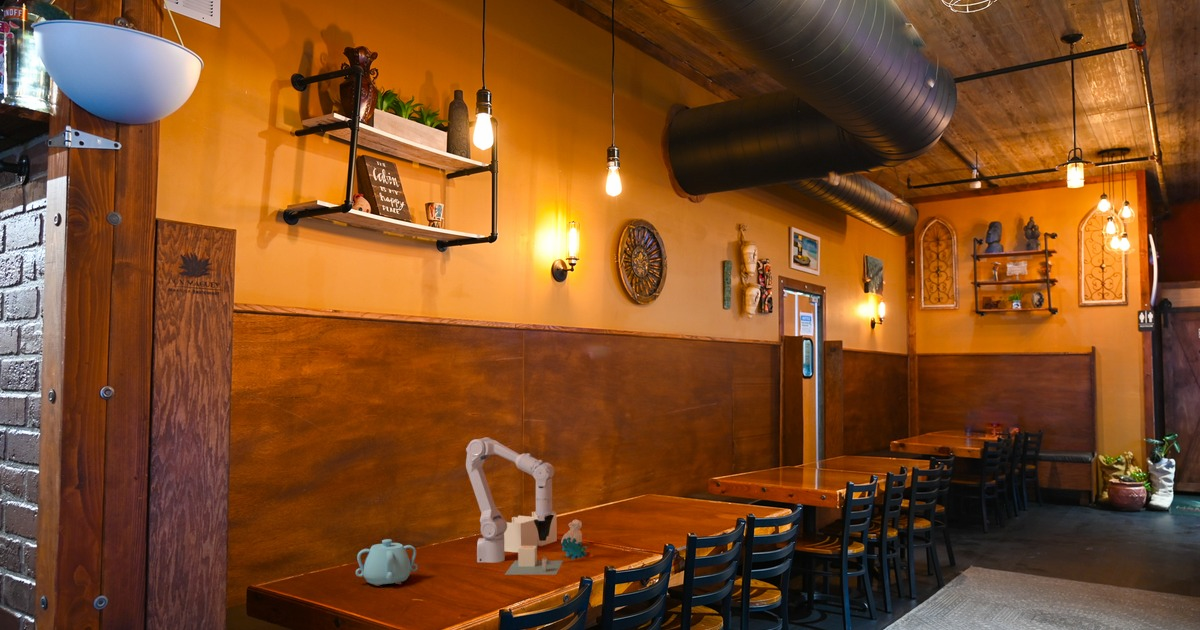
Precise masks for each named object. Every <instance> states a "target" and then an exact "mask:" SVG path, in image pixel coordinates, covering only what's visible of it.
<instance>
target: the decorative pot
mask: <svg viewBox="0 0 1200 630" xmlns="http://www.w3.org/2000/svg"><path fill="white" fill-rule="evenodd" d="M407 549H411V550H412V556H411V559H410V558H409V555H408V552H407ZM364 553H367V555H366V557H365V559H364V562H362V557H361V555H362V554H364ZM356 556H357V557H356V559H357V562H358V566H359V568H357V569H356V570H355V575H356V577H360V578H362V577H363V578H364V580H365V581H366V582H367V583H369V584H371V585H373V586H374V585H382V586H383V585H387V584H394V583H401V582H402V583H403V582H405V581H406V580H407V579H408V578H409V576H410V575H411V573H414V572H416V571H417V570H418V566H419V565H418V564H417V563H414V562H415V559H416V556H417V550H416V548H415V547H414V546H413V545H410V544H407V545H403V544H402V543H399V542H393V539H391V538H388V539H387V538H386V539H383V540H381V543H377V544H372V545H371V547H370V548H364V549H361V550H360V551H359V552H358V553H357V555H356ZM413 566H414V567H413ZM360 571H361V572H360ZM359 572H360V573H359Z"/></svg>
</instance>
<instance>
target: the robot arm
mask: <svg viewBox="0 0 1200 630" xmlns="http://www.w3.org/2000/svg"><path fill="white" fill-rule="evenodd" d="M465 452H466V459H465V469H466V472H467V475H468V477H469V480H470V483H471V486H472V489H473V492H474V495H475V498H476V501H477V504H478V507H479V511H480V512H481V515H480V519H479V522H480V533H481V536H482V537H479V538H478V540H477V543H476V544H477V545H476V562H477V563H490V564H491V563H493V564H494V563H501V562H504V561H505V560H506V559H505V554H506V553H505V552H506V551H505V549H504V532H505V531H506V529H507V522H508V521H506V519H505V518H504V517H503V515H502V513H501V511H499V509H497V507H496V504H495V501H494V498H493V496H492V493H491V489H490V486H489V483H488V481H487V478H486V474H485V471H484V467H483V464H484V463H485V462H486V459H487V458H489V456H491V455H497V456H500V457H502V458H504V459H506V460H507V461H510V462H511V463H512V462H513V463H515V466H516V468H517V469H519V470H520V471H522V472H524V473H527V474H529V475H530V476H532V477H533V478H534V480H535V511H534V512H535V514H536V515H537V517H538V519H535V520H534V523H535V525H536V527H537V531H538V536H539V540H540V541H546V538H547V536H549V531H550V525H551V521H552V519H553V517H554V515H551V514H555V513H556V514H557V512H556V510H553V476H554V474H555V468H554V466H553V465H552V464H551V463H549V462H543V460H542V459H537V458H536V457H533V456H532V454H531V453H529V452H528V453H524V452H523V453H522V454H520V453H518V452H516V451H514V450H512V449H511V448H509V447H507V446H505V445H504V444H502V443H500V442H499V441H497V440H495V439H492V438H491V437H488V436H487V437H486V436H485V437H483V438H477V439H472V440H471V441H470V442H469V443H468V444H467V447H466V448H465Z"/></svg>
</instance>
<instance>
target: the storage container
mask: <svg viewBox="0 0 1200 630" xmlns="http://www.w3.org/2000/svg"><path fill="white" fill-rule="evenodd" d="M551 515H554V517H553V519H552V521H551V525H550V531H549V536H547V538H546V541H540V540H539V536H538V531H537V527H536V525H535V523H534V520H535V519H538V517H537V515H536V514H535V511H531V516H527V515H517V516H513V517H511V522H508V521H506V522H507V529H506V531H505V532H504V549H505V552H508V553H509V552H510V553H518V549H519V548H520V546H537V547H538V546H539V547H542V546H546V545H548V544H552V543H554V542H558V541H557V539H558V534H557V533H558V531H557V529H558V528H557V526H558V523H557V519H558V518H557V512H556V513H555V514H551Z"/></svg>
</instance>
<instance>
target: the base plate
mask: <svg viewBox="0 0 1200 630" xmlns="http://www.w3.org/2000/svg"><path fill="white" fill-rule="evenodd" d="M563 563H564V560H547V571H546V572H542V560H537V564H536V565H535V566H525V567H518V560H514V561H513V563H512V564H511V565H510V566H509V568H508V569H507V571H506V572H505V573H504V575H505V576H507V575H508V576H513V575H514V576H515V575H517V576H518V575H523V576H524V575H525V576H527V575H529V576H530V575H534V576H535V575H536V576H537V575H539V576H540V575H541V576H542V575H543V576H544V575H550V576H551V575H553V576H554V575H555V576H556V575H557V573H558V572H559V570H560V568H561V566H562V564H563Z"/></svg>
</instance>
